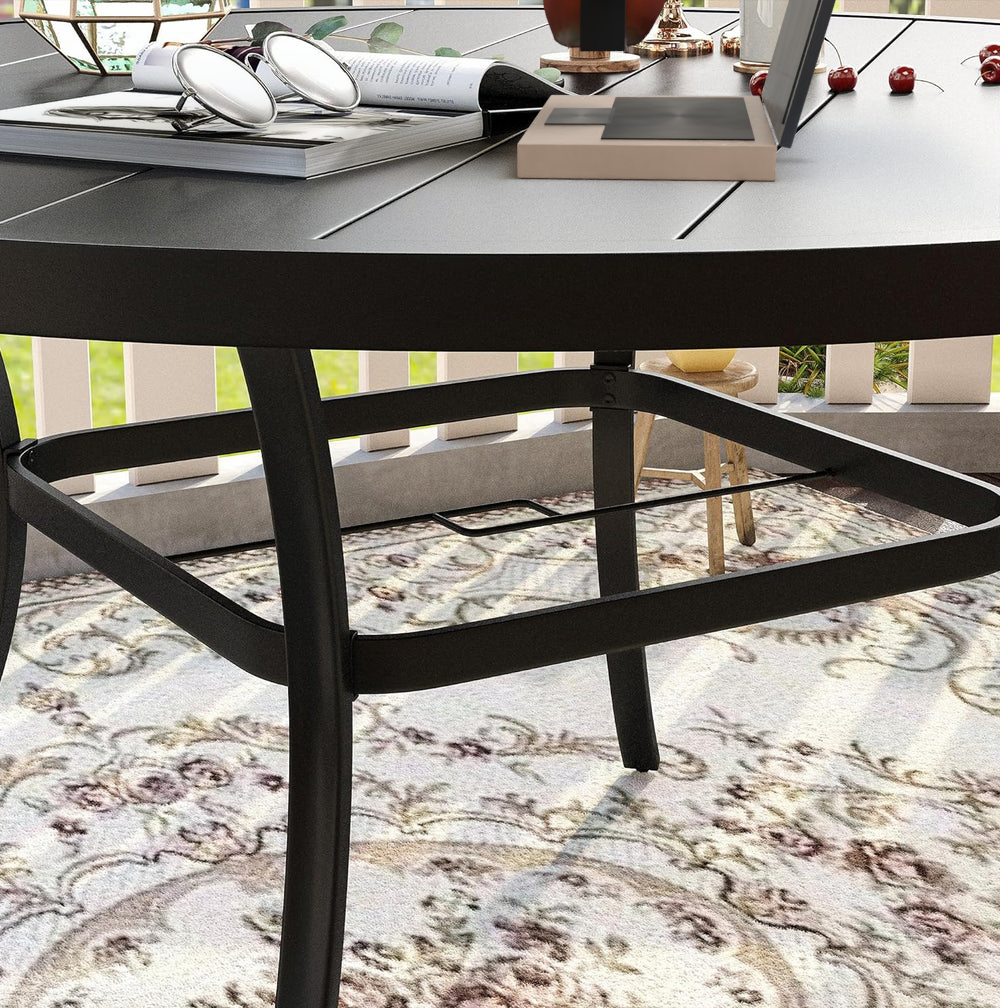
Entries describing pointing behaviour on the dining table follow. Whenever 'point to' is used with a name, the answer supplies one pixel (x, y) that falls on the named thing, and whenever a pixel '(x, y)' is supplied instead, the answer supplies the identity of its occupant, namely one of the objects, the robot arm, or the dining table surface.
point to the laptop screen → (794, 64)
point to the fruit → (565, 20)
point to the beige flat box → (649, 138)
